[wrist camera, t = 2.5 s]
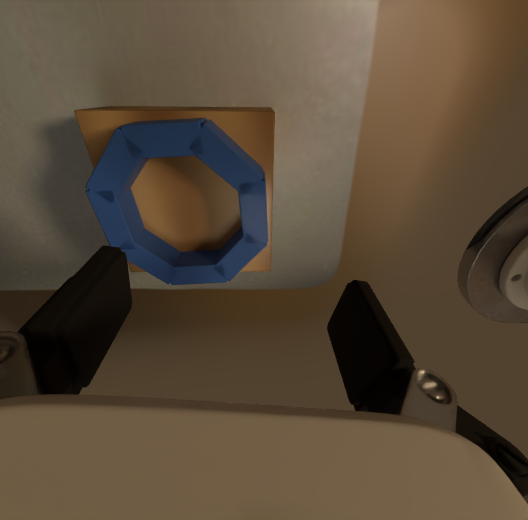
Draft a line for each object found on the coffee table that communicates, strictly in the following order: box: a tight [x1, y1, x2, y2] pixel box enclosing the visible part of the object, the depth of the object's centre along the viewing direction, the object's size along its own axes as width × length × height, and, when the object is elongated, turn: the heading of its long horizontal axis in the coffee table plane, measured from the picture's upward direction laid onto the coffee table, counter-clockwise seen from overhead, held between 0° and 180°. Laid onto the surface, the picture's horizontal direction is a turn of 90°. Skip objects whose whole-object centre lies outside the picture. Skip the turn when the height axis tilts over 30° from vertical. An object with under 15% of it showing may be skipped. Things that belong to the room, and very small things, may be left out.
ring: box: [86, 117, 268, 285], centre depth 16 cm, size 10×10×2 cm
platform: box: [74, 106, 275, 272], centre depth 19 cm, size 11×11×4 cm
